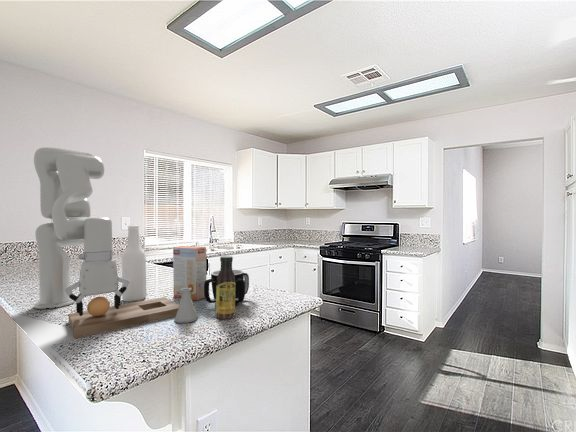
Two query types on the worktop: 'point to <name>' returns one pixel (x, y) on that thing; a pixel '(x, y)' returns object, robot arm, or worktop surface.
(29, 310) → the worktop surface
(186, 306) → the flask
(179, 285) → the cracker box
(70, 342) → the worktop surface
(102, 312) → the orange ball
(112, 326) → the board
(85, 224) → the robot arm
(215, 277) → the mug
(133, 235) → the alcohol
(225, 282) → the sauce bottle
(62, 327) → the worktop surface
